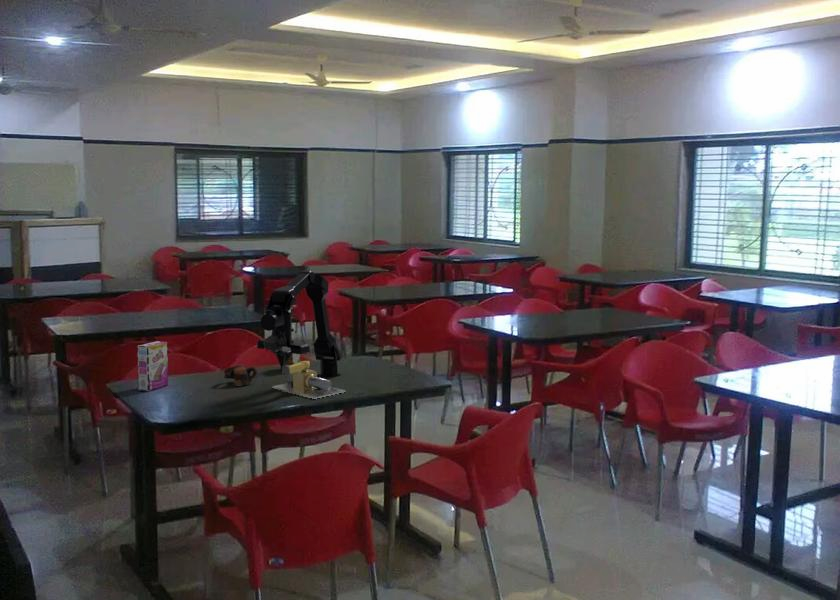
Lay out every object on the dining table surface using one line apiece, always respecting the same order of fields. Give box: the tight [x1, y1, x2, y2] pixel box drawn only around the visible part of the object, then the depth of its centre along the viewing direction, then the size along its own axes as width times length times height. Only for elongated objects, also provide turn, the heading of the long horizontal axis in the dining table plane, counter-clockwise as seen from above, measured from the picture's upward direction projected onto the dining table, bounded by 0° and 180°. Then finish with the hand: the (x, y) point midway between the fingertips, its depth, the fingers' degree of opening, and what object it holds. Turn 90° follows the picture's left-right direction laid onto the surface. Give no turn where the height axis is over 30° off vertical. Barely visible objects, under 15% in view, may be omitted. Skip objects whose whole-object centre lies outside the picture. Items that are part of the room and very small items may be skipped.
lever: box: [281, 360, 311, 376], centre depth 298 cm, size 15×4×3 cm, turn 154°
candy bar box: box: [136, 341, 169, 392], centre depth 307 cm, size 11×5×16 cm, turn 159°
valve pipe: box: [272, 368, 346, 400], centre depth 302 cm, size 24×14×8 cm, turn 46°
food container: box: [286, 341, 301, 366], centre depth 339 cm, size 12×6×10 cm, turn 172°
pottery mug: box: [223, 364, 258, 387], centre depth 314 cm, size 12×10×8 cm
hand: (282, 370), depth 295 cm, fingers closed
